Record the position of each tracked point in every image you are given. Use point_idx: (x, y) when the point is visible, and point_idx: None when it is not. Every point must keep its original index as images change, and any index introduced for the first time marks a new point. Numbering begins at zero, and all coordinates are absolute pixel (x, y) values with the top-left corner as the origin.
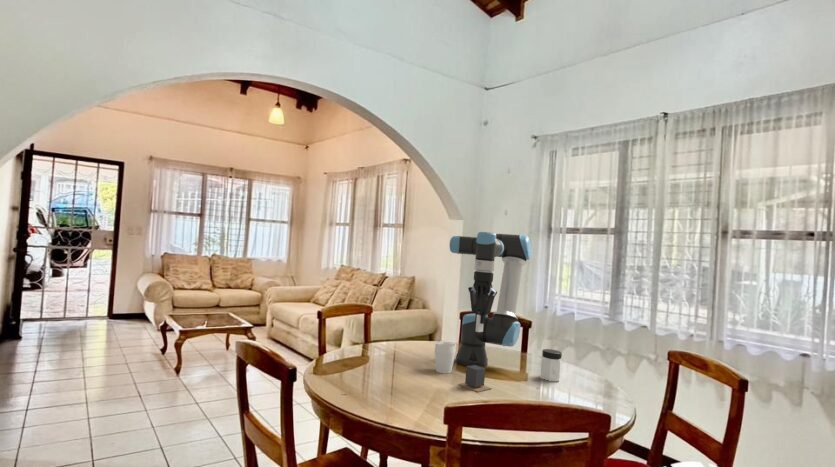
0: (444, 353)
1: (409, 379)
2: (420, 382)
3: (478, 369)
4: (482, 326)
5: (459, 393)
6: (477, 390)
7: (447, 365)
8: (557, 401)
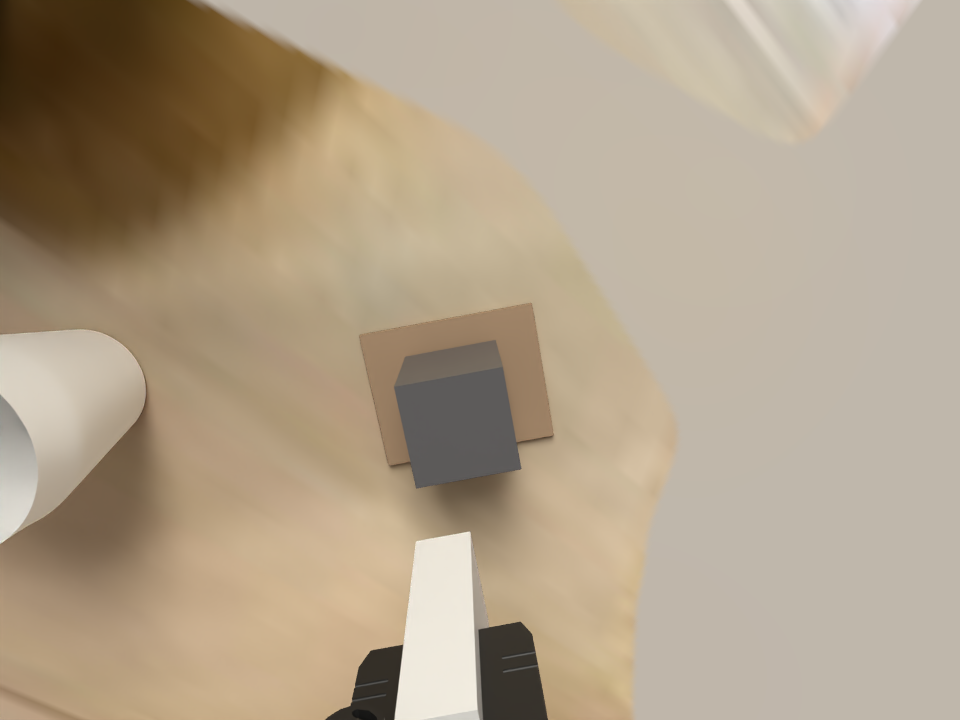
0: (70, 492)
1: (219, 688)
2: (288, 656)
3: (516, 448)
4: (475, 591)
5: (531, 550)
6: (540, 427)
7: (125, 419)
8: (891, 9)
